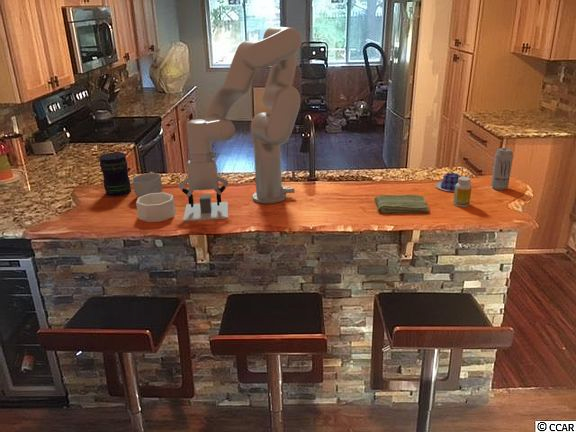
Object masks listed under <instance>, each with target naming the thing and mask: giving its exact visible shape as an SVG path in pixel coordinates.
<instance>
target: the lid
mask: <svg viewBox="0 0 576 432" xmlns="http://www.w3.org/2000/svg"><path fill="white" fill-rule="evenodd" d="M211 198H212V197H211V194H200V196H199V203H194V205H193V207H191V204H189V203H186V206H185V209H184V215H183V218H182V221H183V222H194V221H211V220H224V219H225V218H227V219H229V202H228V201H221V202H219V206H218V205H217V201H216V202H214V201H213V202H212V199H211Z"/></svg>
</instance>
